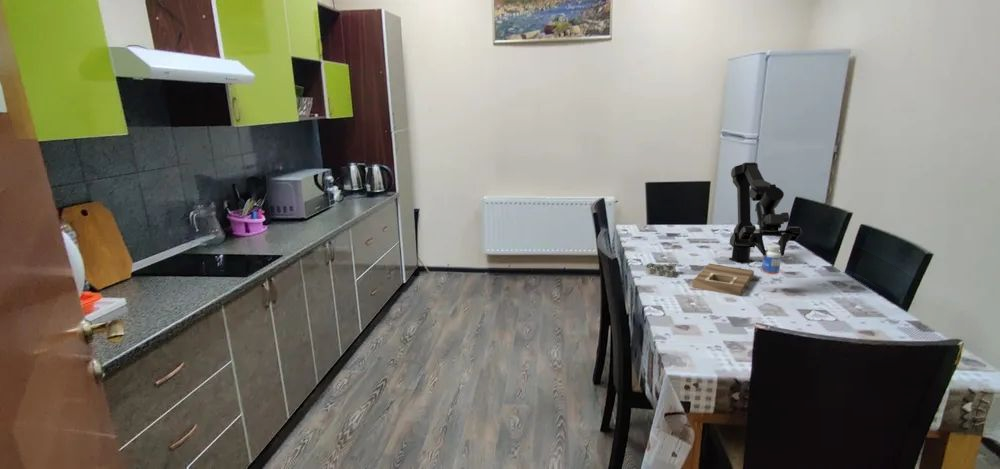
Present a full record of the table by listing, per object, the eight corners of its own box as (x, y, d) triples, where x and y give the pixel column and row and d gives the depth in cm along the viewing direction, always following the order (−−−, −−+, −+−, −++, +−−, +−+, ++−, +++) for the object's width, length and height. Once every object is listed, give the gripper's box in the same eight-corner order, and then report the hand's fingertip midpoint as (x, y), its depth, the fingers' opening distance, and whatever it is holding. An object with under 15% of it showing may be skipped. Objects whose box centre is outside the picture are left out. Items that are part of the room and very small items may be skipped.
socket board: (708, 269, 196) (709, 262, 195) (753, 276, 186) (754, 270, 186) (692, 287, 179) (692, 280, 178) (740, 296, 169) (741, 288, 169)
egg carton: (677, 273, 193) (678, 263, 192) (670, 279, 188) (670, 269, 186) (651, 268, 200) (651, 258, 199) (643, 273, 194) (643, 263, 193)
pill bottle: (758, 269, 175) (761, 243, 172) (772, 269, 175) (776, 242, 172) (766, 275, 169) (770, 248, 167) (782, 274, 170) (785, 247, 167)
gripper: (744, 203, 171) (751, 243, 164) (803, 203, 168) (813, 244, 160) (736, 220, 181) (741, 258, 173) (791, 220, 177) (800, 260, 170)
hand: (773, 255), depth 169 cm, fingers closed on pill bottle, 5 cm apart
